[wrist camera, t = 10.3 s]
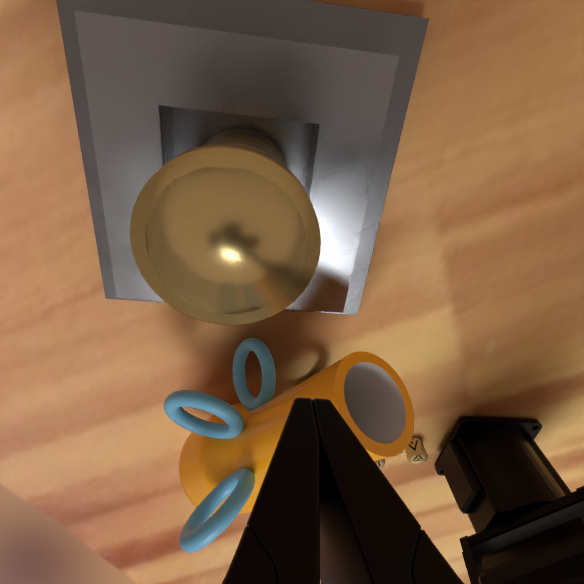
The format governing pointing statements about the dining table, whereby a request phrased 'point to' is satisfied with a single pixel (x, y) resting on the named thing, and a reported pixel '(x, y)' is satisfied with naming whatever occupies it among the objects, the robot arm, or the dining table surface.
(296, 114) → the plate
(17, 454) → the dining table surface
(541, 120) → the dining table surface
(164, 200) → the bushing
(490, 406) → the dining table surface
